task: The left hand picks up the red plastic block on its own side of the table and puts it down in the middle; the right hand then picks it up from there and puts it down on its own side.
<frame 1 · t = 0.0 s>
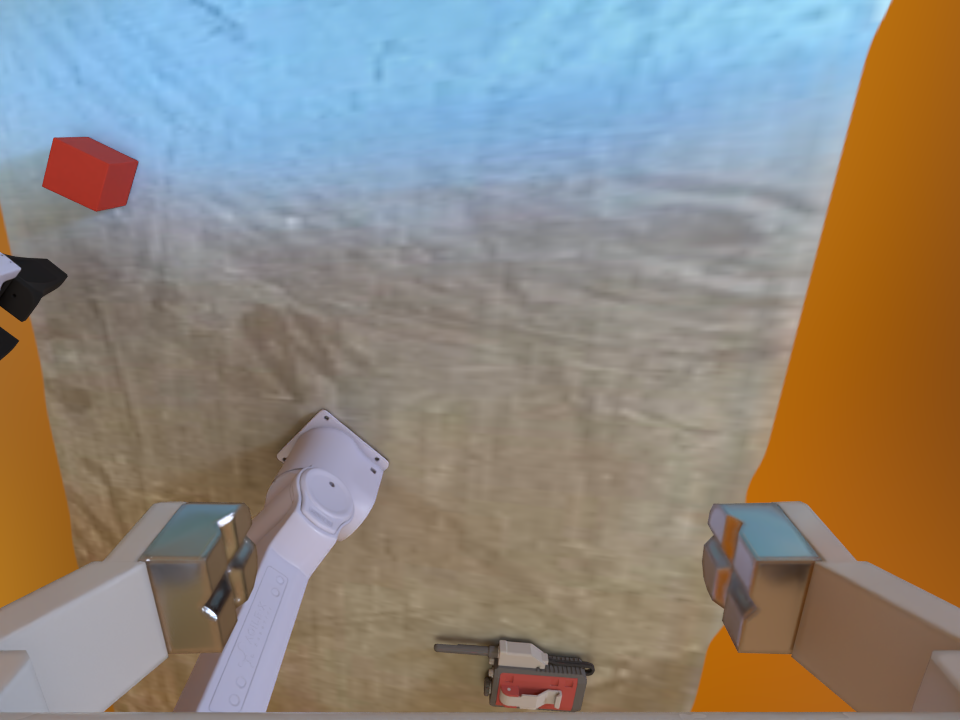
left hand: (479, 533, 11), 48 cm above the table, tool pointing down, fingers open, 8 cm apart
block: (107, 171, 54), on the table
walkie-talkie: (511, 663, 76), on the table
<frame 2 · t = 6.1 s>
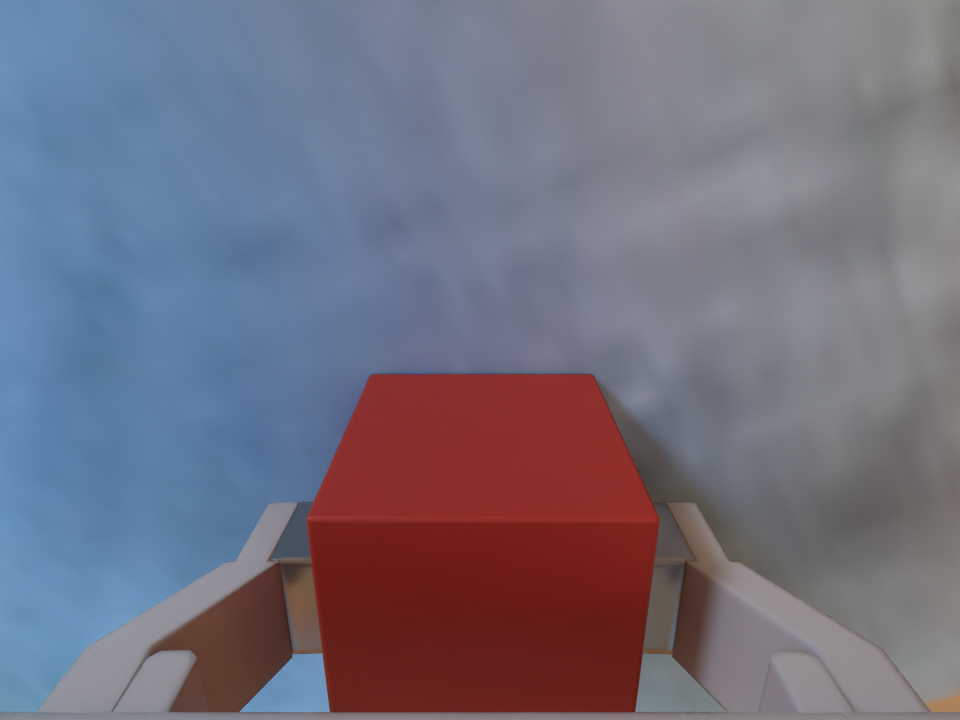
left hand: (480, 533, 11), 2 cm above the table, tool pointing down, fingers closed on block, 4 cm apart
block: (481, 475, 12), on the table, touching left hand
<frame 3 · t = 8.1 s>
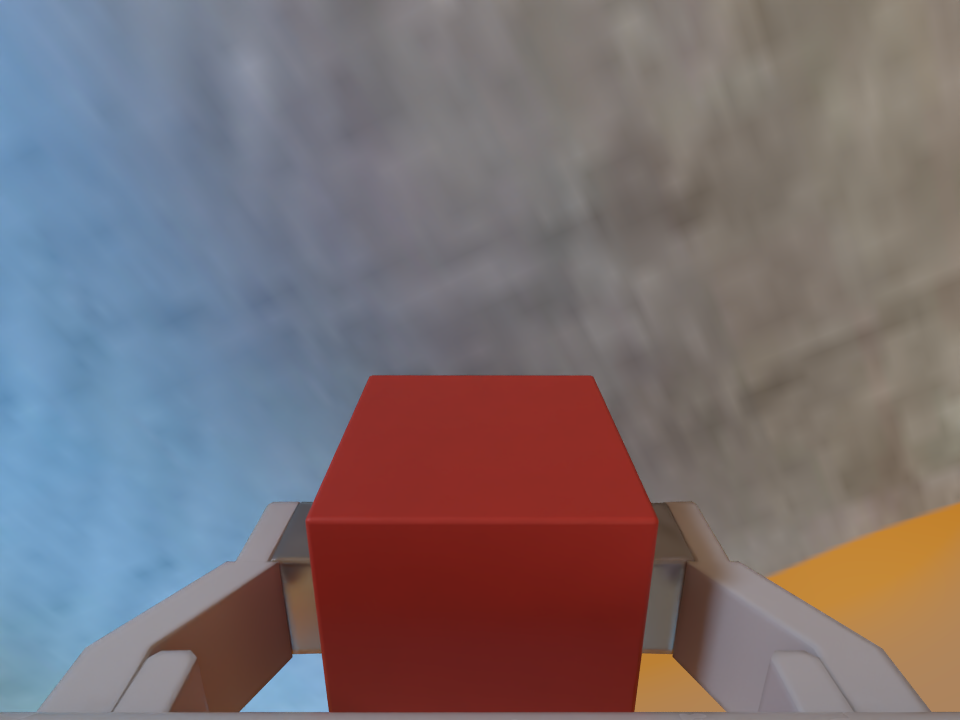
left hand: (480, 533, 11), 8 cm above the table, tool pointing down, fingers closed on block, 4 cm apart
block: (481, 476, 12), point 6 cm above the table, touching left hand
when the left hand's fingers open (3 cm above the table, at t = 10.5 s): block drops 1 cm, on the table.
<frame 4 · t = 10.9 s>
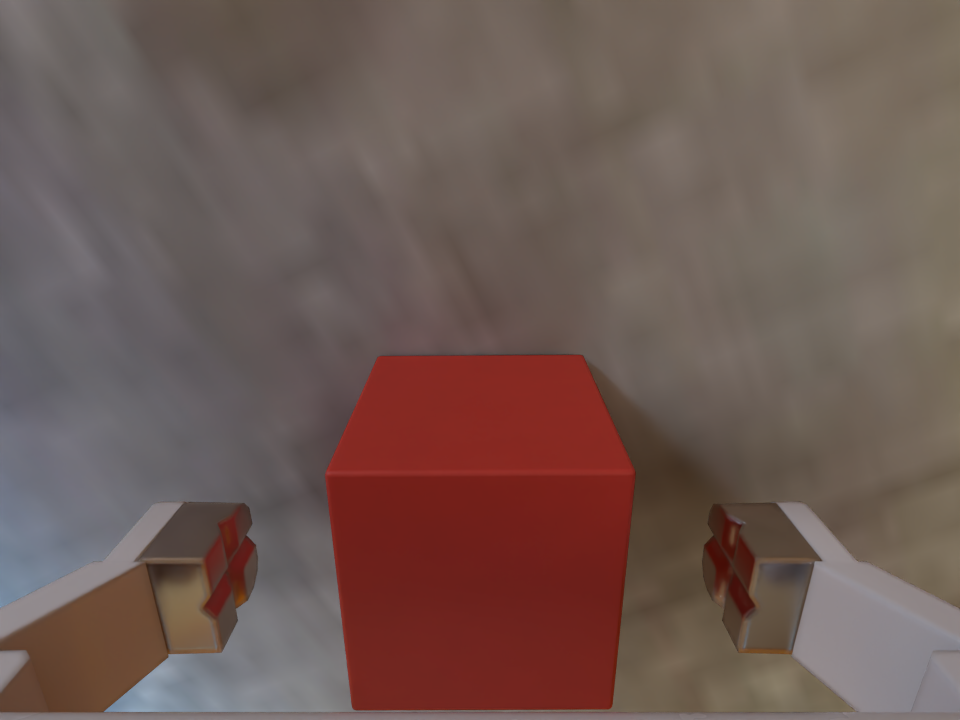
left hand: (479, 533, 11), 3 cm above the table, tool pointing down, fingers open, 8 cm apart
block: (481, 450, 13), on the table
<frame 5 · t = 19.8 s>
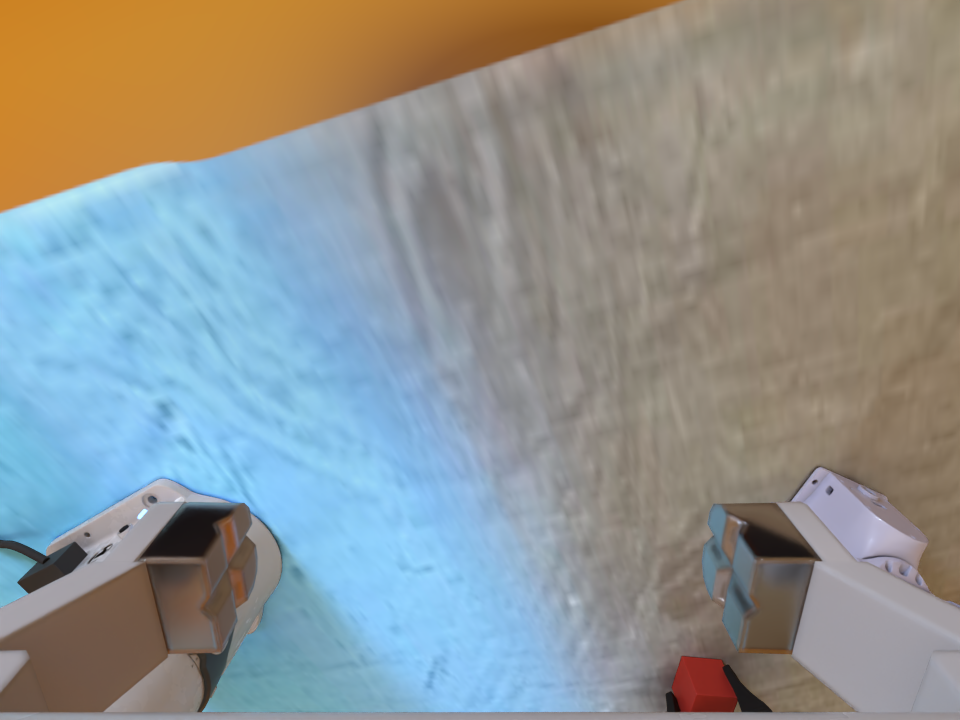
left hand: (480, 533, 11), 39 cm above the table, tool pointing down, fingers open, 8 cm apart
block: (696, 673, 65), on the table, touching right hand
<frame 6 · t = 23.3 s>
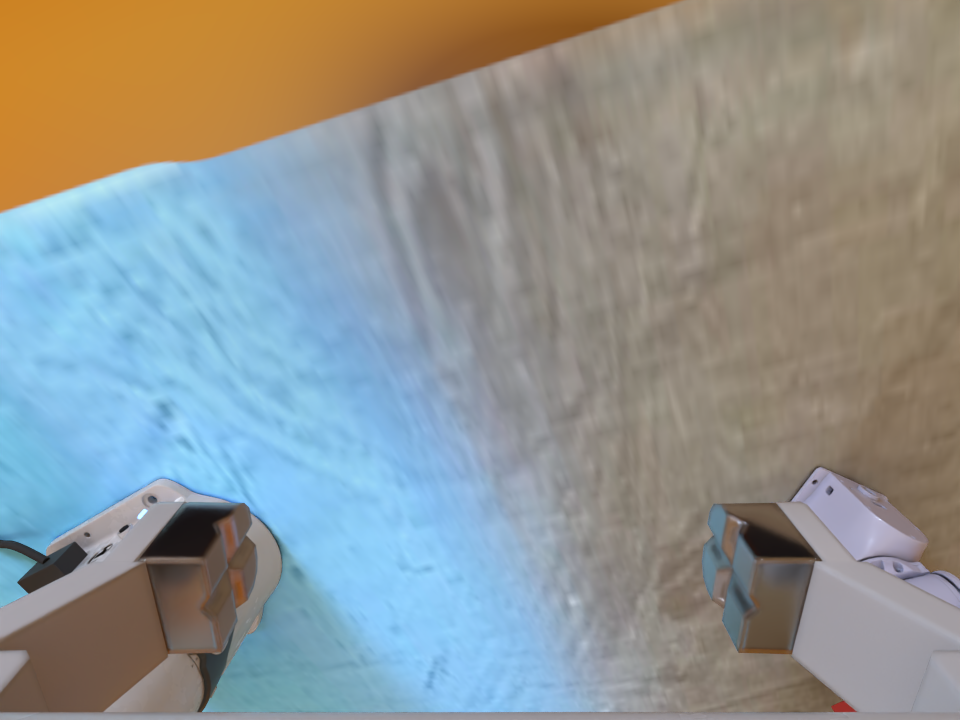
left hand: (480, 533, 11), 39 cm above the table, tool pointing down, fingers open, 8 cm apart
block: (860, 711, 59), point 6 cm above the table, touching right hand
when the right hand's fingers open (3 cm above the table, at t = 26.8 s): block drops 1 cm, on the table.
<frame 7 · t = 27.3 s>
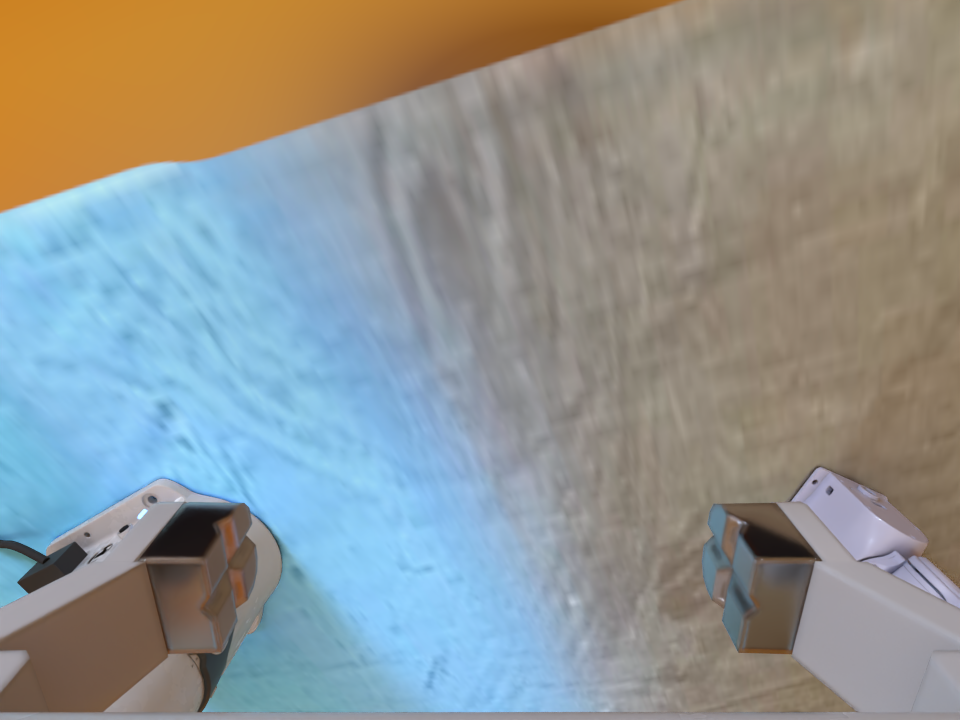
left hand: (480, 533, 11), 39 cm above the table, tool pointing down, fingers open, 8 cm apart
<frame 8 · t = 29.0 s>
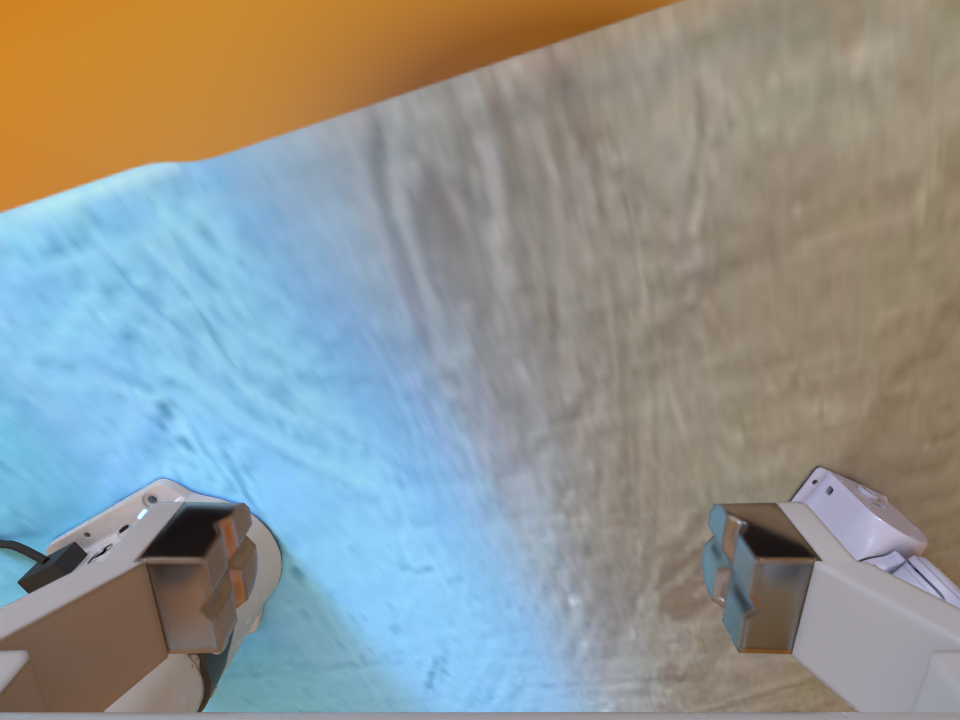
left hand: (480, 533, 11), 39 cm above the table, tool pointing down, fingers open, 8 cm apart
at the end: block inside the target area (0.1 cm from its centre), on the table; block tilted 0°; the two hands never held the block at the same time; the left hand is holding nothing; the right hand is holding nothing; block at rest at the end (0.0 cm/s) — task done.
